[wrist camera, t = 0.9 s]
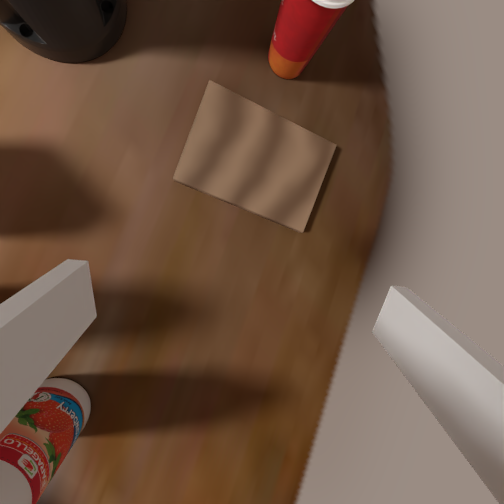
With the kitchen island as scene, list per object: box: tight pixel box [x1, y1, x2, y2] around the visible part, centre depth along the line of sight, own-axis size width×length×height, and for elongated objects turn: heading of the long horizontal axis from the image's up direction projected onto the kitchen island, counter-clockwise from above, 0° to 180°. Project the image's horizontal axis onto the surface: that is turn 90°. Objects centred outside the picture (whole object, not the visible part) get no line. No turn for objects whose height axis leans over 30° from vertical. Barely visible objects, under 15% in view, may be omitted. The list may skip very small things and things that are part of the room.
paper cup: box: [268, 0, 355, 79], centre depth 28 cm, size 8×8×14 cm
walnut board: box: [173, 80, 336, 233], centre depth 35 cm, size 20×14×2 cm
